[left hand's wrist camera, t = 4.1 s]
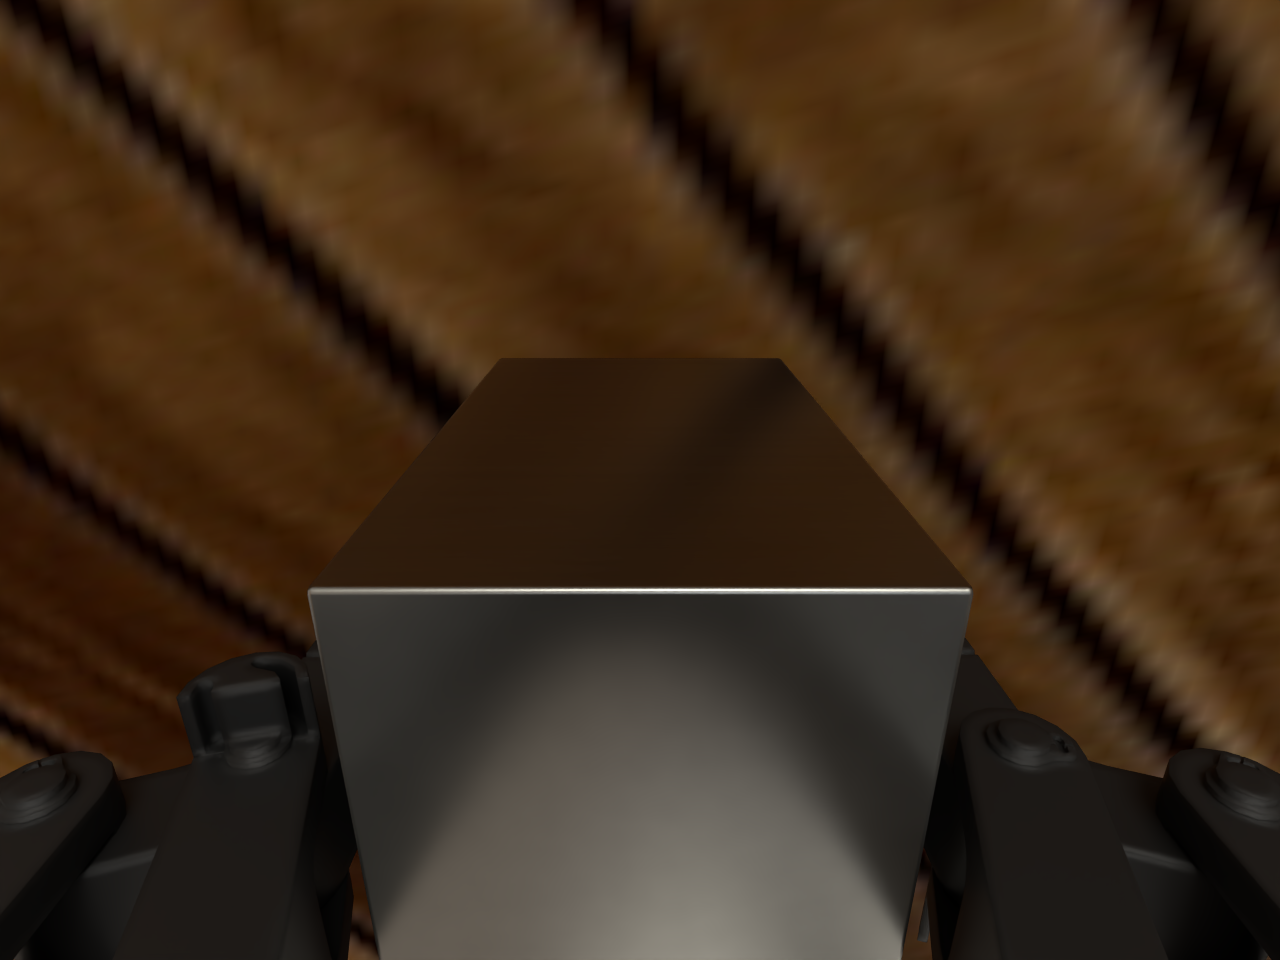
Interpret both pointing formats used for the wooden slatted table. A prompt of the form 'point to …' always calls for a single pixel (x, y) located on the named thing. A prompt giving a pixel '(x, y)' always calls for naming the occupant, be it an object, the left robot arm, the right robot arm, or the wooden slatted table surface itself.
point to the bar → (640, 675)
